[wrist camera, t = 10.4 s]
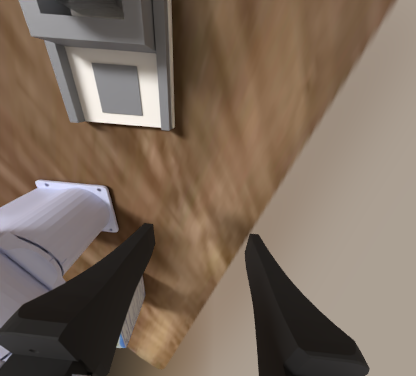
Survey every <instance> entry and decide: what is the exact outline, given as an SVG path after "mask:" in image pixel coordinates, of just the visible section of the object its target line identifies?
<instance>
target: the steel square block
mask: <svg viewBox="0 0 416 376" xmlns="http://www.w3.org/2000/svg"><path fill="white" fill-rule="evenodd" d="M55 1H57V2H59V3H61V4H62V5H64V6H66V7H68V8H70V9H71V10H73V11H75V12H77V13H79V14H80V15H86V16H103V17H119V18H124V13H123V5H122V0H55Z"/></svg>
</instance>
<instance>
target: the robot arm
mask: <svg viewBox="0 0 416 376" xmlns="http://www.w3.org/2000/svg"><path fill="white" fill-rule="evenodd" d="M35 183H36V185H37V187H38V188H37V189H35V190H33V191H31V192H29V193H27V194H25V195H23V196H21V197H19V198H17V199H15V200H14V201H12V202H10V203H8V204H6V205H4V206H2V207H0V376H106V375H107V374H108V373H109V370H110V367H111V363H112V360H113V357H114V353H115V350H116V347H117V343H118V340H119V337H120V334H121V331H122V328H123V324H124V322H125V319H126V316H127V313H128V310H129V307H130V304H131V301H132V298H133V296H134V293H135V291H136V288H137V286H138V284H139V282H140V279H141V277H142V275H143V273H144V271H145V269H146V266H147V264H148V262H149V260H150V258H151V255H152V252H153V249H154V246H155V238H154V230H153V224H147V223H144V224H143V225H142V226H141V227H140V228H139V229H138V230H137V231H136V232H134V233H133V234H132V235H131V236H130V237H129V238H128V239H127V240H126V241H124V242H123V243H122V244H121V245H120V246H119V247H117V248H116V249H115V250H114V251H112V252H111V253H110V254H109V255H107V256H106V257H105V258H103V259H102V260H101V261H99V262H98V263H96V264H95V265H93V266H92V267H90V268H89V269H87V270H86V271H84V272H82V273H81V274H79V275H78V276H76V277H74V278H73V279H71V280H69V281H67V282H66V281H65V280H64V279H63V277H62V276H63V275H64V274H65V273H66V272H67V270H68V269H69V268H70V267H71V266H72V265H73V263H74V262H75V261H76V260H77V259H78V258H79V256H80V255H81V254H82V253H83V252H84V251H85V249H86V248H87V247H88V246H89V245H90V244H91V242H92V241H93V240H94V239H95V238H96V237H97V236H98V234H99V233H100V232H101V231H106V232H118V230H119V228H118V224H117V220H116V216H115V213H114V209H113V205H112V201H111V198H110V194H109V190H108V188H107V187H106V186H101V185H90V184H80V183H69V182H59V181H48V180H37V181H36V182H35ZM100 189H101V190H100ZM245 262H246V270H247V275H248V280H249V286H250V291H251V295H252V301H253V309H254V318H255V329H256V340H257V354H258V367H259V368H258V369H259V376H365V375H367V374H368V372H369V367H368V365H367V363H366V361H365V359H364V357H363V355H362V353H361V351H360V350H359V348H358V346H357V345H356V343H355V341H354V340H353V339H351V338H350V337H349V336H348V335H347V334H346V333H344V332H343V331H342V330H341V329H340V328H338V327H337V326H336V325H335V324H334V323H333V322H331V321H330V320H329V319H328V318H327V317H326V316H325V315H323V314H322V313H321V312H320V311H319V310H318V309H317V308H316V307H315V306H314V305H313V304H312V303H311V302H310V301H309V300H308V299H307V298H306V297H305V296H304V295H303V294H302V293H301V292H300V290H299V289H298V288H297V287H296V286H295V285H294V284H293V283H292V281H291V280H290V279H289V278H288V277H287V275H286V274H285V273H284V271H283V270H282V269H281V268H280V266H279V265H278V264H277V262H276V261H275V259H274V258H273V256H272V255H271V254H270V252H269V251H268V249H267V247H266V246H265V244H264V243H263V241H262V239H261V238H260V236H259V235H258V234H250V235H249V239H248V243H247V246H246V250H245Z"/></svg>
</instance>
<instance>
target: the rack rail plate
mask: <svg viewBox="0 0 416 376" xmlns="http://www.w3.org/2000/svg"><path fill="white" fill-rule="evenodd" d="M19 2H20V5H21V8H22V11H23V14H24V17H25V20H26V22H27V25H28V28H29V31H30V34H31V36H33V37H36V38H39V39H43V40H44V42H45V45H46V48H47V51H48V54H49V57H50V60H51V63H52V66H53V70H54V73H55V76H56V79H57V82H58V85H59V88H60V91H61V94H62V98H63V101H64V104H65V107H66V110H67V113H68V116H69V119H70V122H76V123H79V122H84V121H89V122H101V123H112V124H124V125H135V126H147V127H158V128H161V130H168V131H170V130H171V129H173V128H175V114H174V78H173V42H172V6H171V0H122V5H123V13H124V18H119V17H103V16H86V15H80V14H79V13H77V12H75V11H73V10H71V9H70V8H68V7H66V6H64V5H62V4H61V3H59V2H57V1H55V0H19Z"/></svg>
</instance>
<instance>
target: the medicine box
mask: <svg viewBox="0 0 416 376" xmlns="http://www.w3.org/2000/svg"><path fill="white" fill-rule="evenodd" d="M144 298H145V288H144V281H143V275H142V277H141V279H140V282H139V284H138V286H137V288H136V291H135V293H134V296H133V298H132V301H131V304H130V307H129V310H128V313H127V316H126V319H125V322H124V324H123V328H122V331H121V334H120V337H119V340H118V343H117V347H116V348H126V347H127V345H128V342H129V340H130V337H131V334H132V331H133V329H134V326H135V323H136V320H137V317H138V315H139V312H140V309H141V307H142V304H143V301H144Z"/></svg>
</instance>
